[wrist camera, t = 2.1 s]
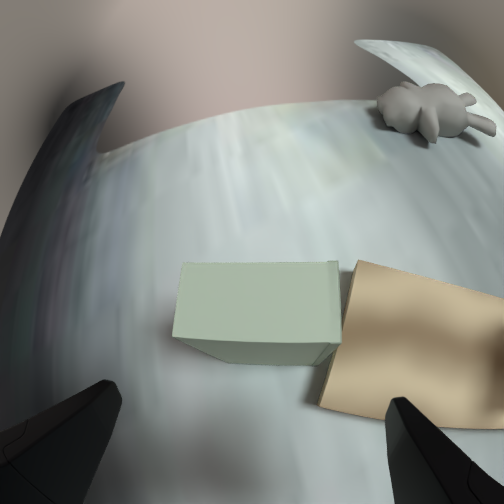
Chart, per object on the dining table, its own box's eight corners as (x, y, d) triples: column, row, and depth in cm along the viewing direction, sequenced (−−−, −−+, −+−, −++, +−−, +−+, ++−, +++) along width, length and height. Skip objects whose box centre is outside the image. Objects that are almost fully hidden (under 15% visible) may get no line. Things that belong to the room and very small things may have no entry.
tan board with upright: (510, 427, 12) (594, 421, 3) (316, 404, 17) (341, 420, 8) (525, 315, 16) (598, 269, 7) (353, 271, 21) (388, 184, 12)
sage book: (317, 365, 18) (341, 343, 9) (228, 363, 19) (171, 337, 10) (317, 322, 19) (338, 260, 11) (231, 321, 20) (182, 261, 11)
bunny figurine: (369, 73, 27) (469, 77, 23) (369, 106, 31) (463, 105, 28) (399, 120, 22) (508, 123, 19) (394, 156, 27) (496, 153, 24)
